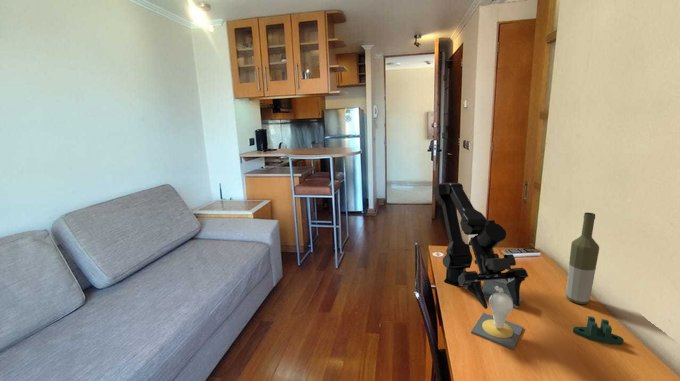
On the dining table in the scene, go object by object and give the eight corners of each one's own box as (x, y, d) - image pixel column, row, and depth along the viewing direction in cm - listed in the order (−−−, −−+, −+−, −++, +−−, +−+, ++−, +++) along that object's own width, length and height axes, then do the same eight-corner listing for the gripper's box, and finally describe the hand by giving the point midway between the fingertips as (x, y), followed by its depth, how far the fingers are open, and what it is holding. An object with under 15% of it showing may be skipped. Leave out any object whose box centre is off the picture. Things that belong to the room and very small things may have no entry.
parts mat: (471, 332, 90) (471, 330, 90) (483, 314, 98) (483, 312, 98) (513, 350, 83) (513, 347, 83) (522, 328, 91) (523, 326, 91)
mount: (574, 336, 87) (576, 321, 86) (571, 327, 91) (573, 312, 90) (625, 348, 82) (628, 332, 81) (620, 338, 86) (623, 322, 85)
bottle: (595, 307, 99) (610, 217, 92) (570, 305, 101) (582, 216, 94) (583, 295, 106) (596, 210, 99) (560, 293, 107) (571, 210, 100)
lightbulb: (509, 337, 86) (513, 302, 84) (485, 330, 89) (488, 296, 87) (510, 325, 91) (514, 291, 89) (487, 318, 94) (490, 286, 92)
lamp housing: (478, 296, 108) (479, 277, 106) (484, 288, 112) (485, 270, 110) (517, 308, 100) (519, 289, 98) (521, 300, 104) (523, 281, 103)
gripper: (464, 246, 88) (481, 303, 80) (527, 242, 89) (551, 298, 81) (451, 259, 97) (465, 312, 89) (508, 255, 98) (528, 307, 90)
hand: (502, 307), depth 87 cm, fingers open, 9 cm apart
